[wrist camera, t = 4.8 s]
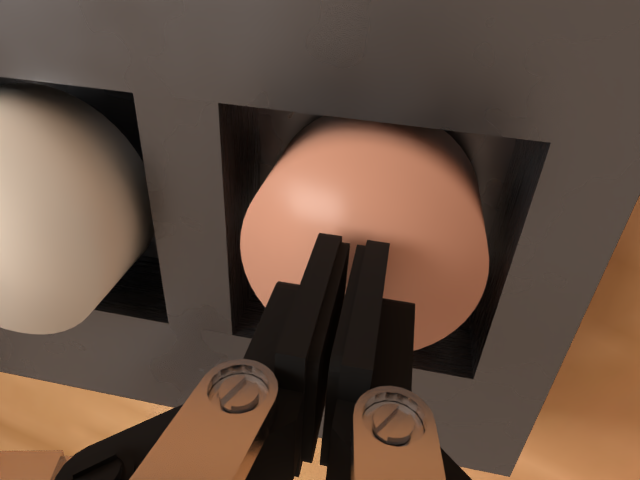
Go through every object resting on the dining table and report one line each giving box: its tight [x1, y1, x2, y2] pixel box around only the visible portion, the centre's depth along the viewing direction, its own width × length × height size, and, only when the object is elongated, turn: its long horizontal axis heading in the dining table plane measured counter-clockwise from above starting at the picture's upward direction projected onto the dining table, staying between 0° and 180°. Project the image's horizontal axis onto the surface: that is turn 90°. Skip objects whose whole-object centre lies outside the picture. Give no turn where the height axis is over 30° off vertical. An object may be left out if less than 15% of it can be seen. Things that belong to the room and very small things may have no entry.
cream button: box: [0, 83, 155, 334], centre depth 13 cm, size 6×6×3 cm
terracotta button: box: [240, 116, 489, 351], centre depth 13 cm, size 6×6×3 cm
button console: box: [0, 0, 640, 477], centre depth 15 cm, size 15×29×4 cm, turn 87°
